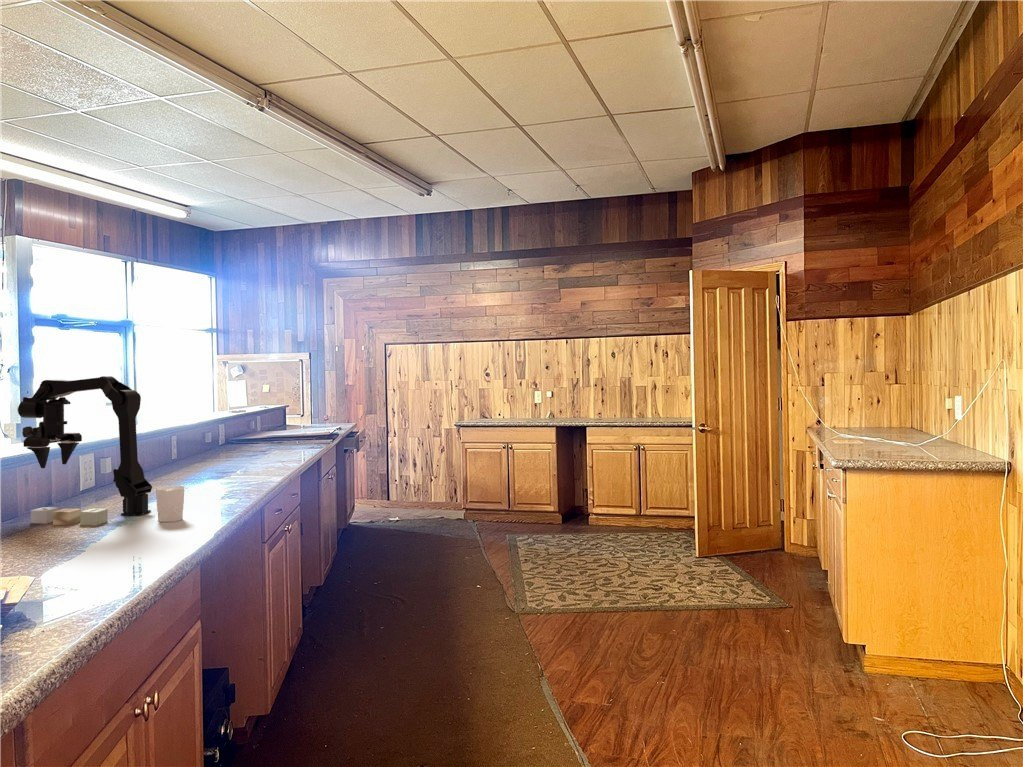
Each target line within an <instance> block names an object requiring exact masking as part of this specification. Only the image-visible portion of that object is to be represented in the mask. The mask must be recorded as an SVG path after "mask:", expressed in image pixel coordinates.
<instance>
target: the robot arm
mask: <svg viewBox="0 0 1023 767" xmlns="http://www.w3.org/2000/svg"><path fill="white" fill-rule="evenodd" d="M95 390H101V391H102V392H103V395H104V397H106V398H107V399H108V400H109V401H110V402H111V406H112V410H113V413H114V414H115V416H116V417H117V420H118V437H119V438H118V439H119V458H120V463H119V466H118V467H117V468H113V470H112V472H113V480H112V482H113V483H114V484H115V487H116V488H117V489H118V492H119V495H120V497H121V498H122V497H123V499H122V512H121V513H120V516H142V515H145V514H148V513H151V512H152V510H151V509H149V493H151V492H152V489H153V485H152V484H151V483H150V482H149V481H148V480H147V479H146V478H145V475H144V474H145V473H144V469H143V467H142V466H141V464H140V462H139V461H138V460H139V458H138V440H137V436H138V435H137V420H136V418H137V415H138V413H139V411H140V409H141V400H142V399H141V398H142V397H141V394H140V392H138V391H137V390H134V389H132V388H131V387H129V386H128V385H126V384H124V383H122V382H121V381H119V380H117V378H115V377H113V376H110V375H109V376H108V375H104V376H103V375H102V376H99V377H93V378H91V377H90V378H83V379H77V380H76V379H75V380H67V379H44V380H42V381H41V382H40V384H39V387H38V388H37V390H36V391H35V393H34V394H33V396H23V397H22V401H21V402H20V403H19V405H18V407H17V413H18V415H19V416H20V417H21V418H25V419H42V421H39V423H38V426H37V427H32V426H25V427H23V428H22V432H21V433H22V437H24V439H23V447H26V449H27V450H30V451H31V452H33V453H34V455H35V457H36V459H37V462H38V464H39V467H40V469H45V468H46V465H47V463H48V462H47V461H48V458H49V454H50V451H51V446H49V445H50V444H53V443H56V444H57V446H58V447H59V448H60V458H61V463H62V465H67V463H68V462H69V459H71V455H72V454H73V453H74V451H75V449H76V448H77V447H78V445H79V444H80V442H83V435H82V434H81V433H79V432H65V425H68V420H65V405H71V402H70V400H68V399H67V398H66V396H69V395H71V394H74V393H76V392H78V393H79V392H86V391H95Z"/></svg>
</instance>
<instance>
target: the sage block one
mask: <svg viewBox="0 0 1023 767" xmlns="http://www.w3.org/2000/svg"><path fill="white" fill-rule="evenodd" d="M108 510H109V509H108V508H89V509H86V510H83V511H82V510H81V522H80V525H81V526H98V525H102V524H104V523H108V520H109V519H108V518H109V517H108Z"/></svg>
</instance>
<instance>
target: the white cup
mask: <svg viewBox="0 0 1023 767" xmlns="http://www.w3.org/2000/svg"><path fill="white" fill-rule="evenodd" d="M155 492H156V493H155V496H156V510H157V521H158V522H160V523H174V522H180V521H182V520H183V515H184V514H183V513H184V512H183V511H184V502H185V486H182V485H168V486H166V485H164V486H159V487H157V488H156V489H155Z"/></svg>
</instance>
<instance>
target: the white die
mask: <svg viewBox="0 0 1023 767" xmlns="http://www.w3.org/2000/svg"><path fill="white" fill-rule="evenodd" d="M58 510H60V509H59V507H56V506H55V507H54V506H50V507H49V506H47V507H46V506H42V507H39V508H35V509H34V508H33V509H31V510H30V523H31V524H44V525H45V524H49V523H53V512H54V511H58Z"/></svg>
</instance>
